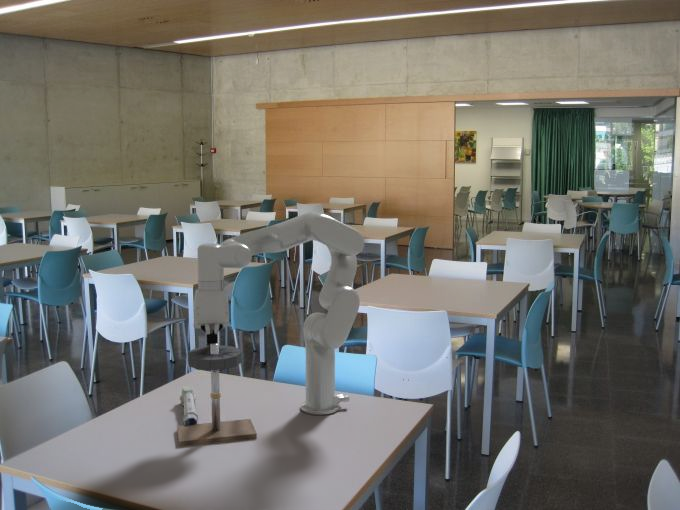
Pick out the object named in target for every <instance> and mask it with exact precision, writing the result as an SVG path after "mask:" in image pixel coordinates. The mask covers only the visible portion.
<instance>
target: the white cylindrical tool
mask: <svg viewBox="0 0 680 510" xmlns="http://www.w3.org/2000/svg"><path fill="white" fill-rule="evenodd" d="M196 400H197V395H196V394H195V392H194V387H192V386H190V385H185V386H183V387H182V389H181V394H180V395H179V401H180V406H182V407H183V406H184V407H183V416H182V419H183V420H182V422H183V423H184V425H193V424H198V422H199V421H198V414H197V410H196V406H195V405H196Z"/></svg>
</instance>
